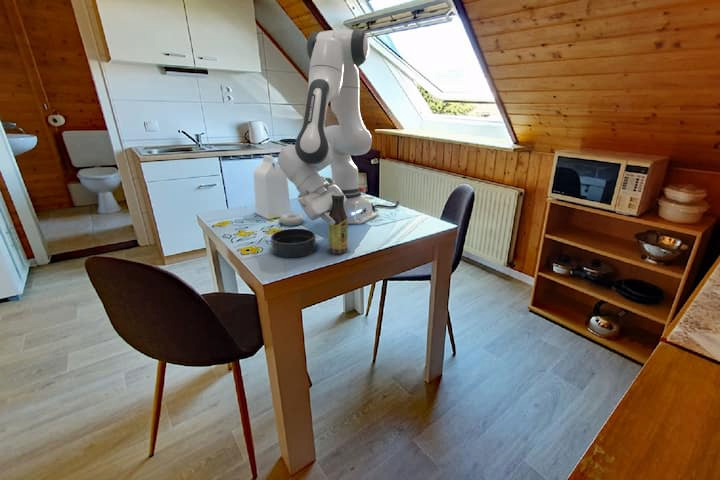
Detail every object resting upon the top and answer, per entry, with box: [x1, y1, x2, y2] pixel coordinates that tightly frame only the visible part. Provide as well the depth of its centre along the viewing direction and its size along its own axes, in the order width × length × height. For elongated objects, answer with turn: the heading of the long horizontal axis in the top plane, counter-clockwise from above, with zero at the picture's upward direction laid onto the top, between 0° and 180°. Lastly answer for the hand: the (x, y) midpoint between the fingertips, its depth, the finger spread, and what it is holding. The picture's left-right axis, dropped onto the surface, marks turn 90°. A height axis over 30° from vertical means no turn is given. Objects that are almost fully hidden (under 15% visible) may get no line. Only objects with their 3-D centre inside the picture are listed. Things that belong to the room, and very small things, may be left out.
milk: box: [253, 154, 292, 220], centre depth 153 cm, size 12×12×26 cm
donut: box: [278, 212, 304, 227], centre depth 145 cm, size 10×3×10 cm
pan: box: [270, 228, 317, 258], centre depth 119 cm, size 15×15×5 cm
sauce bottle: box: [328, 193, 348, 255], centre depth 115 cm, size 7×6×20 cm
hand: (339, 221), depth 114 cm, fingers closed on sauce bottle, 6 cm apart
